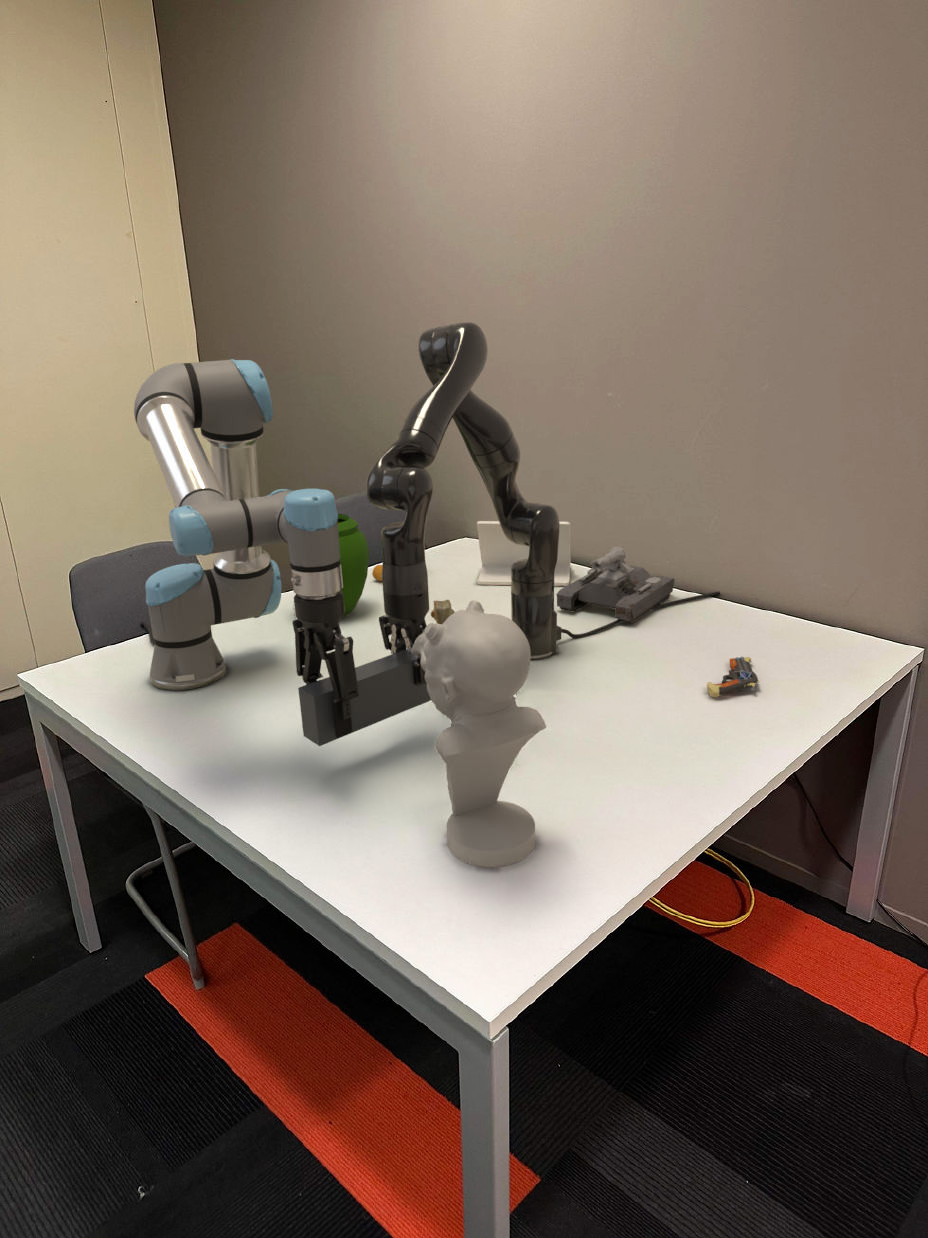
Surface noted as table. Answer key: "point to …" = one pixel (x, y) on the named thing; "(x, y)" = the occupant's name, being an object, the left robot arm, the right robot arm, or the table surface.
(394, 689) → the bar
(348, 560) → the vase
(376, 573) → the spray gun
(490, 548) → the tablet stand
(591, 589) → the toy
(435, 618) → the sculpture
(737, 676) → the toy gun
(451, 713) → the bust sculpture
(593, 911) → the table surface
